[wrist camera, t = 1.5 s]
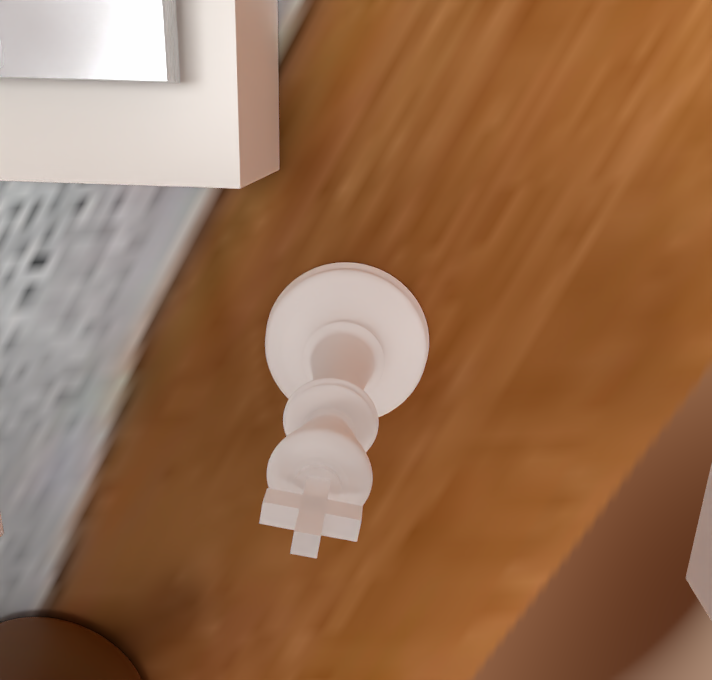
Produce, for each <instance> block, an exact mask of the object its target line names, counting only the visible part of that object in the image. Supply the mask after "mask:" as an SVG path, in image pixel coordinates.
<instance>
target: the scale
mask: <svg viewBox="0 0 712 680" xmlns="http://www.w3.org/2000/svg"><path fill="white" fill-rule="evenodd" d="M176 12H177V30H178V48H179V66H180V83H159V82H122V81H84V80H46V79H9V78H0V181H25V182H55V183H85V184H116V185H146V186H176V187H206V188H236V189H241V188H243V187H245V186H247V185H249V184H251V183H253V182H255V181H257V180H259V179H261V178H264V177H266V176H268V175H270V174H272V173H274V172H276V171H278V170H279V73H278V0H176Z"/></svg>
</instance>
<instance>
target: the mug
mask: <svg viewBox="0 0 712 680" xmlns="http://www.w3.org/2000/svg"><path fill="white" fill-rule="evenodd" d="M0 680H141V677H140V676H139V674H138V672H137V670H136V668H135V667H134V666H133V664H132V663H131V662H130V660H129V659H128V658H127V657H126V656H125V655H124V654H123V652H122V651H121V650H119V649H118V648H117V647H116V646H115V645H114V644H112V643H111V642H110V641H108V640H107V639H105V638H104V637H102V636H101V635H99V634H97V633H95V632H94V631H92V630H90V629H88V628H85V627H83V626H81V625H78V624H75V623H72V622H69V621H65V620H60V619H55V618H47V617H23V618H16V619H12V620H8V621H4V622H1V623H0Z"/></svg>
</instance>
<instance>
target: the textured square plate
mask: <svg viewBox="0 0 712 680" xmlns="http://www.w3.org/2000/svg"><path fill="white" fill-rule="evenodd" d="M0 78H9V79H46V80H84V81H122V82H159V83H180V66H179V48H178V30H177V12H176V0H0Z"/></svg>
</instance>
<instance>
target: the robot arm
mask: <svg viewBox="0 0 712 680" xmlns="http://www.w3.org/2000/svg"><path fill="white" fill-rule="evenodd" d="M3 534H4V531H3V525H2V519H1V513H0V537H1V536H2V535H3ZM686 580H687V581H688V583H689V585H690V586H691V588H692V590H693V591H694V593H695V595H696V596H697V598H698V599H699V601H700V603H701V604H702V606H703V608H704V609H705V611H706V613H707V614H708V616H709V617H710V619H711V621H712V464H711V469H710V473H709V478H708V482H707V486H706V491H705V495H704V500H703V504H702V508H701V513H700V518H699V522H698V526H697V531H696V535H695V539H694V544H693V548H692V553H691V557H690V562H689V566H688V570H687V575H686Z"/></svg>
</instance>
